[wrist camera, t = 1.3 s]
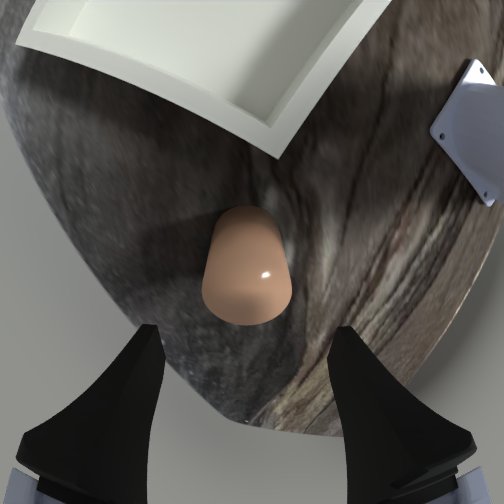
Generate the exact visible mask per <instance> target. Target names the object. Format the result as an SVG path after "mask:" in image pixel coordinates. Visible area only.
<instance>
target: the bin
mask: <svg viewBox="0 0 504 504" xmlns="http://www.w3.org/2000/svg"><path fill="white" fill-rule="evenodd" d="M390 2H391V0H36V2H35V4H34V6H33V7H32V9H31V11H30V13H29V15H28V17H27V19H26V21H25V23H24V25H23V27H22V30H21V32H20V34H19V36H18V39H17V41H16V43H15V44H16V45H20V46H24V47H28V48H32V49H35V50H39V51H42V52H45V53H49V54H52V55H55V56H58V57H61V58H65V59H68V60H71V61H73V62H76V63H79V64H82V65H85V66H88V67H90V68H93V69H96V70H98V71H101V72H104V73H106V74H109V75H111V76H114V77H116V78H119V79H121V80H124V81H126V82H128V83H131V84H133V85H135V86H138V87H140V88H142V89H145V90H147V91H149V92H151V93H154V94H156V95H158V96H160V97H162V98H165V99H167V100H169V101H171V102H173V103H175V104H177V105H179V106H181V107H183V108H185V109H187V110H189V111H191V112H193V113H195V114H197V115H199V116H201V117H203V118H205V119H207V120H209V121H211V122H213V123H215V124H217V125H219V126H220V127H222V128H224V129H226V130H228V131H230V132H231V133H233V134H235V135H237V136H239V137H240V138H242V139H244V140H246V141H248V142H249V143H251V144H253V145H254V146H256V147H258V148H260V149H261V150H263V151H265V152H266V153H268V154H270V155H271V156H273V157H275V158H276V159H279V158H280V156H281V155H282V153H283V152H284V150H285V149H286V147H287V146H288V144H289V143H290V141H291V140H292V138H293V137H294V135H295V134H296V132H297V131H298V129H299V128H300V126H301V125H302V123H303V122H304V121H305V119H306V118H307V116H308V115H309V113H310V112H311V110H312V109H313V108H314V106H315V105H316V103H317V102H318V100H319V99H320V97H321V96H322V95H323V93H324V92H325V90H326V89H327V87H328V86H329V85H330V83H331V82H332V80H333V79H334V78H335V76H336V75H337V73H338V72H339V71H340V69H341V68H342V66H343V65H344V64H345V62H346V61H347V59H348V58H349V57H350V55H351V54H352V52H353V51H354V50H355V48H356V47H357V46H358V44H359V43H360V42H361V40H362V39H363V37H364V36H365V35H366V33H367V32H368V31H369V29H370V28H371V27H372V25H373V24H374V23H375V21H376V20H377V19H378V17H379V16H380V15H381V13H382V12H383V11H384V9H385V8H386V7H387V5H388V4H389V3H390Z"/></svg>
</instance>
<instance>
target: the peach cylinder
mask: <svg viewBox="0 0 504 504" xmlns="http://www.w3.org/2000/svg"><path fill="white" fill-rule="evenodd" d="M291 294H292V285H291V280H290V276H289V271H288V266H287V262H286V257H285V253H284V248H283V244H282V239H281V235H280V231H279V227H278V224H277V222H276V220H275V219H274V217H273V216H272V215H271V214H270V213H268V212H267V211H266V210H264V209H262V208H260V207H257V206H252V205H241V206H237V207H233V208H231V209H229V210H228V211H226V212H225V213H223V214H222V215H221V216H220V217H219V219H218V220H217V222H216V224H215V227H214V231H213V235H212V240H211V245H210V249H209V254H208V259H207V264H206V268H205V273H204V278H203V283H202V296H203V299H204V302H205V304H206V306H207V307H208V308H209V310H210V311H211V312H212V313H213V314H215V315H216V316H217V317H219V318H220V319H222V320H224V321H227V322H230V323H233V324H238V325H255V324H260V323H264V322H267V321H269V320H271V319H273V318H275V317H276V316H278V315H279V314H280V313H281V312H282V311H283V310H284V309H285V308H286V306H287V305H288V303H289V301H290V298H291Z"/></svg>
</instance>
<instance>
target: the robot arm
mask: <svg viewBox="0 0 504 504" xmlns="http://www.w3.org/2000/svg"><path fill="white" fill-rule="evenodd" d="M479 69H480V70H479ZM480 71H481V72H480ZM430 134H431V136H432V137H433V138H434V139H435V140H436V142H437V143H438V144H439V145H440V146H441V147H442V148H443V150H444V151H445V152H446V153H447V154H448V155H449V157H450V158H451V159H452V160H453V162H454V163H455V164H456V165H457V166H458V168H459V169H460V170H461V172H462V173H463V174H464V175H465V177H466V178H467V179H468V181H469V182H470V184H471V185H472V186H473V188H474V189H475V190H476V192H477V193H478V195H479V196H480V198H481V199H482V201H483V202H484V203H485V205H487V206H491V205H492V204H493V202H494V201H495V199H496V200H498V201H499V202H501V203H502V204H504V87H503V86H497V85H496V84H495V83H494V81H493V80H492V78H491V77H490V75H489V74H488V72H487V71H486V70H485V68H484V67H483V65H482V64H481V63H480V61H479V60H477V59H472V60H471V62H470V64H469V65H468V67H467V69H466V71H465V72H464V74H463V76H462V77H461V79H460V81H459V83H458V84H457V86H456V88H455V89H454V91H453V93H452V94H451V96H450V97H449V99H448V101H447V102H446V104H445V105H444V107H443V109H442V110H441V112H440V113H439V115H438V116H437V118H436V120H435V121H434V123H433V124H432V126H431V128H430ZM440 134H442V138H441V139H440ZM484 193H485V194H484ZM165 359H166V356H165V353H164V349H163V346H162V342H161V338H160V334H159V331H158V327H157V325H150V324H142V325H141V326H140V328H139V329H138V330H137V332H136V333H135V334H134V336H133V337H132V338H131V340H130V341H129V342H128V343H127V345H126V346H125V347H124V349H123V350H122V351H121V352H120V354H119V355H118V356H117V357H116V359H115V360H114V361H113V362H112V363H111V364H110V366H109V367H108V368H107V369H106V370H105V371H104V372H103V373H102V375H101V376H100V377H99V378H98V379H97V380H96V381H95V382H94V383H93V384H92V385H91V386H90V387H89V388H88V389H87V390H86V391H85V392H84V393H83V394H81V395H80V396H79V397H78V398H77V399H76V400H74V401H73V402H72V403H71V404H70V405H68V406H67V407H66V408H64V409H63V410H62V411H60V412H59V413H57V414H56V415H55V416H53V417H52V418H50V419H49V420H47V421H46V422H44V423H42V424H40V425H39V426H37V427H35V428H33V429H31V430H29V431H27V432H25V433H24V435H23V438H22V440H21V443H20V446H19V449H18V452H17V455H16V459H17V461H18V462H19V463H21V464H22V465H23V466H25V467H27V468H28V469H30V470H31V471H33V472H34V473H36V474H38V475H39V476H40V477H39V481H38V480H36V479H34V478H32V477H31V476H29V475H27V474H25V473H23V472H21V471H19V470H18V469H16V468H12V471H11V474H10V478H9V482H8V485H7V490H6V494H5V498H4V502H3V504H147V463H148V449H149V439H150V431H151V425H152V420H153V416H154V412H155V408H156V404H157V400H158V396H159V392H160V388H161V384H162V380H163V374H164V367H165ZM327 362H328V370H329V377H330V382H331V386H332V390H333V393H334V397H335V401H336V405H337V408H338V412H339V416H340V420H341V424H342V429H343V435H344V443H345V452H346V464H347V485H348V486H347V492H348V493H347V504H492V502H491V498H490V494H489V491H488V487H487V484H486V481H485V477H484V474H483V471H482V468H481V467H480V466H479V467H477V468H475V469H474V470H472V471H470V472H468V473H466V474H465V475H463V476H461V477H459V478H457V479H456V477H455V474H456V473H458V469H457V465H459V464H460V463H462V462H463V461H465V460H466V459H467V458H469V457H470V456H472V455H473V454H474V453H475V452H476V450H477V447H476V444H475V442H474V439H473V437H472V434H471V432H469V431H467V430H465V429H463V428H461V427H459V426H457V425H455V424H453V423H452V422H450V421H448V420H446V419H445V418H443V417H442V416H440V415H439V414H437V413H436V412H434V411H433V410H431V409H430V408H429V407H427V406H426V405H425V404H423V403H422V402H421V401H419V400H418V399H417V398H416V397H415V396H413V395H412V394H411V393H410V392H409V391H408V390H407V389H406V388H405V387H403V386H402V385H401V384H400V383H399V382H398V381H397V380H396V379H395V378H394V376H393V375H392V374H391V373H390V372H389V371H388V370H387V369H386V368H385V367H384V365H383V364H382V363H381V362H380V361H379V360H378V358H377V357H376V356H375V355H374V354H373V353H372V351H371V350H370V349H369V348H368V346H367V345H366V344H365V343H364V341H363V340H362V339H361V338H360V336H359V335H358V334H357V333H356V331H355V330H354V329H353V328H352V327H351V326H344V327H337V329H336V333H335V336H334V339H333V342H332V345H331V348H330V351H329V354H328V357H327Z"/></svg>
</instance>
